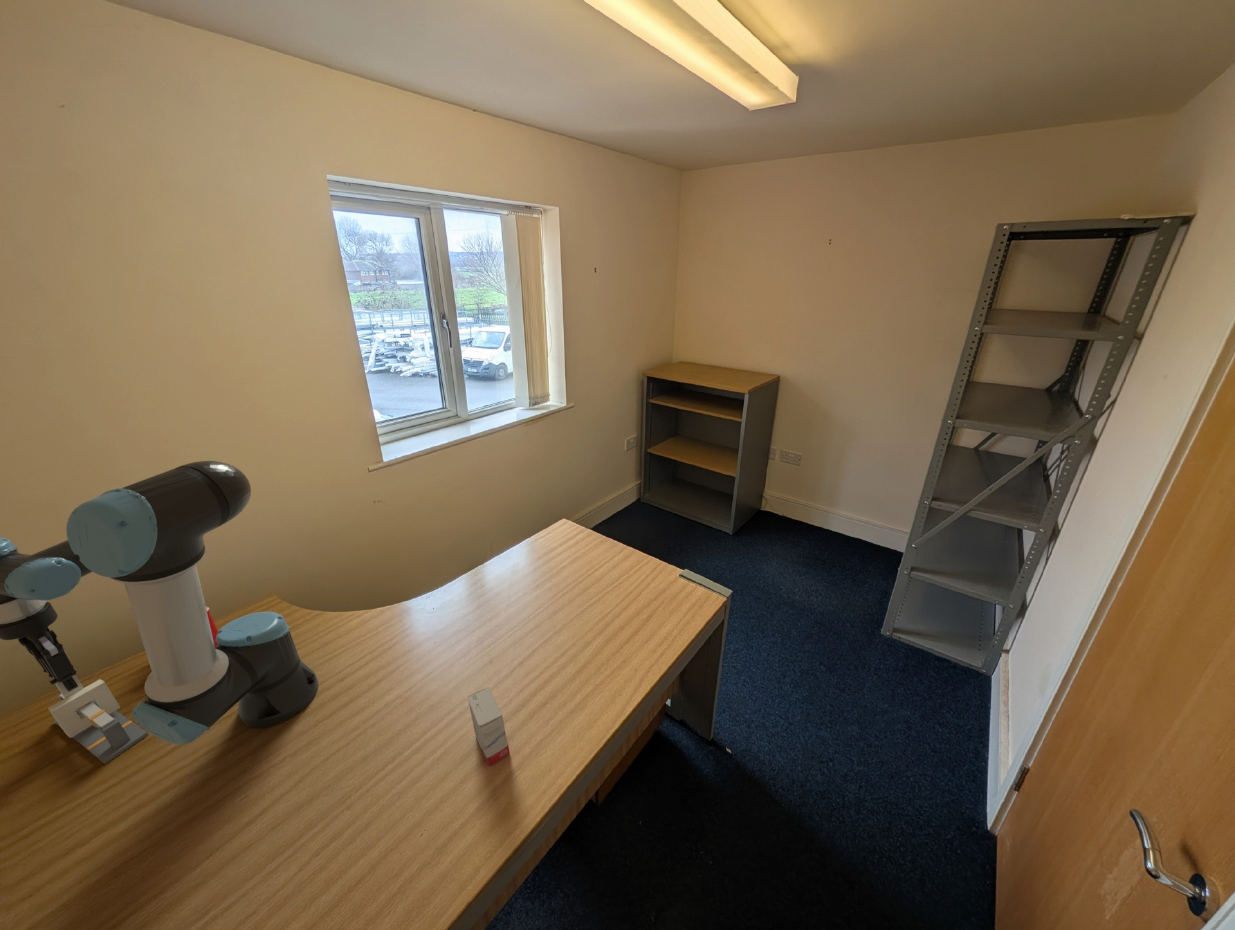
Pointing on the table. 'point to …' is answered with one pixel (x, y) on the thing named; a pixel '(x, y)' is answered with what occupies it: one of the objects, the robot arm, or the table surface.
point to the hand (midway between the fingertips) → (77, 697)
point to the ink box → (488, 725)
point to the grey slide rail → (106, 732)
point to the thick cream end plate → (67, 706)
